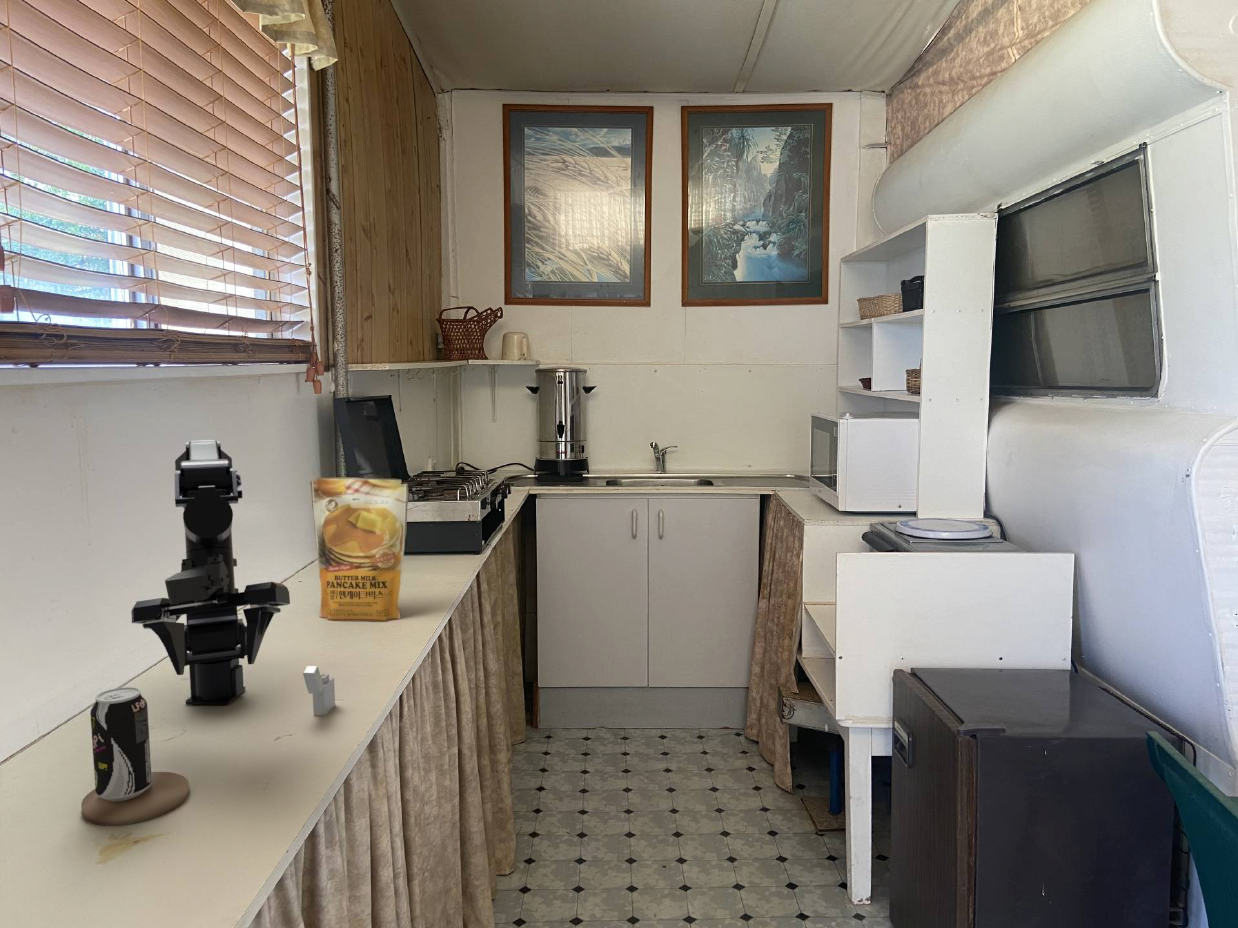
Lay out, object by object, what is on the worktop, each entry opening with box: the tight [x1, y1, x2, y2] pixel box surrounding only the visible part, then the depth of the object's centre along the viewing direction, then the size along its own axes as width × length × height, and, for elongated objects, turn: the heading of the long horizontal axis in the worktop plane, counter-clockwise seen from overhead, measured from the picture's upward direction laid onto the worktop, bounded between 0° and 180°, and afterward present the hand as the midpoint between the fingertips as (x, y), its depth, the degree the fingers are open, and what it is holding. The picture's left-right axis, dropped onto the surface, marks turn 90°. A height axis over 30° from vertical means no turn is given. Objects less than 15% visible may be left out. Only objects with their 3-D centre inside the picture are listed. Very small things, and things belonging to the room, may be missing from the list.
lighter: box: [302, 665, 336, 717], centre depth 131 cm, size 7×2×8 cm, turn 176°
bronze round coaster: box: [81, 771, 190, 827], centre depth 105 cm, size 11×11×1 cm
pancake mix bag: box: [309, 477, 410, 622], centre depth 179 cm, size 7×19×28 cm, turn 86°
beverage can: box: [90, 686, 152, 801], centre depth 104 cm, size 6×6×12 cm
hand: (215, 669), depth 118 cm, fingers open, 9 cm apart
